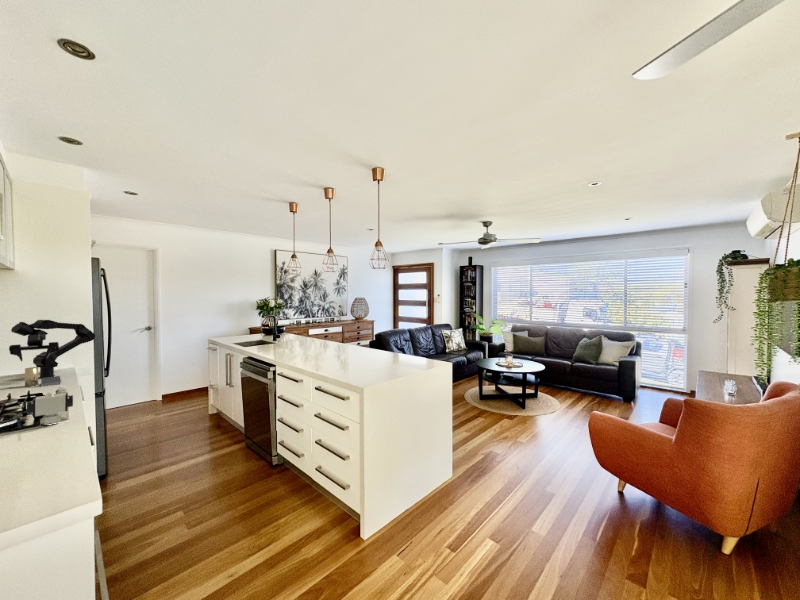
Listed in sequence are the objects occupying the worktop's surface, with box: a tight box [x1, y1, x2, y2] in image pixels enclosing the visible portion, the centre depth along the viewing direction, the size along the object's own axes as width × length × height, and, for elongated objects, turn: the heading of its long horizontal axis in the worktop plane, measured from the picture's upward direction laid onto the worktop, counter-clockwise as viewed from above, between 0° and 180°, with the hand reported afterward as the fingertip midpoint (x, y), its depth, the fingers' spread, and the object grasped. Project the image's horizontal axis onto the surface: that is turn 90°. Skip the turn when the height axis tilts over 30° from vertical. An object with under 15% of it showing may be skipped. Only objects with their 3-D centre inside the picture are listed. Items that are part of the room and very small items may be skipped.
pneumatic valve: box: [26, 392, 74, 426], centre depth 122 cm, size 6×12×12 cm, turn 136°
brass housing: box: [24, 366, 39, 388], centre depth 175 cm, size 5×5×10 cm
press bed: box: [40, 375, 62, 387], centre depth 179 cm, size 9×7×4 cm
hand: (34, 359), depth 180 cm, fingers open, 9 cm apart
